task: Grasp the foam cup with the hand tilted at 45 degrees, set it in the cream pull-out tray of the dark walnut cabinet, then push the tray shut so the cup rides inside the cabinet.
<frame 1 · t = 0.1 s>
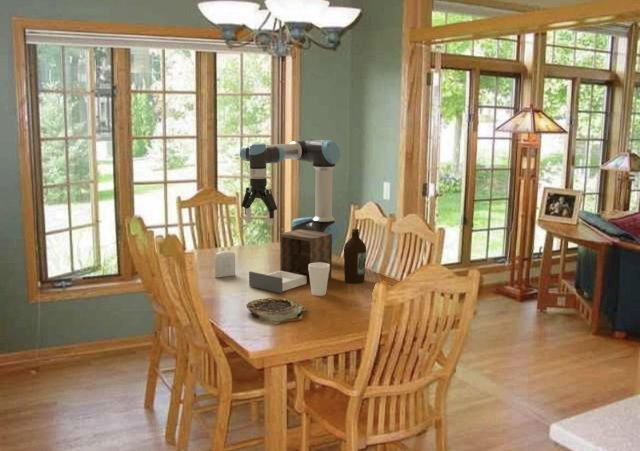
hand: (259, 223, 301), 28 cm above the table, tool pointing down, fingers open, 13 cm apart
tray: (279, 278, 301), point 4 cm above the table, slide at 15.5 cm
pie: (272, 315, 261), on the table
photo printer: (225, 276, 318), on the table
foam cup: (318, 294, 289), on the table
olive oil: (354, 281, 311), on the table
cabinet: (305, 277, 316), on the table
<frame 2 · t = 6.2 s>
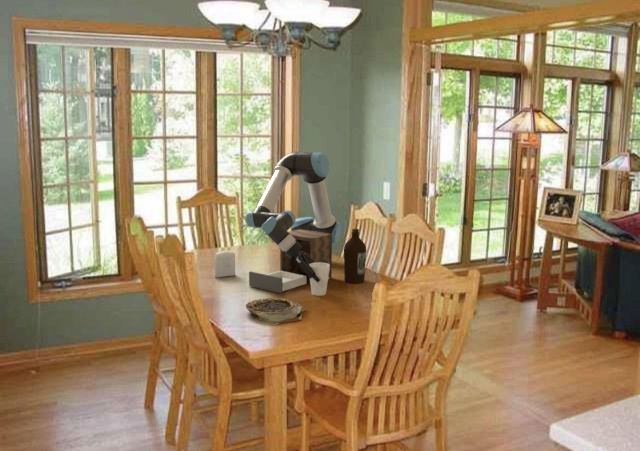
hand: (325, 283, 288), 5 cm above the table, tool tilted 45°, fingers closed on foam cup, 9 cm apart
foam cup: (318, 294, 289), on the table, touching gripper
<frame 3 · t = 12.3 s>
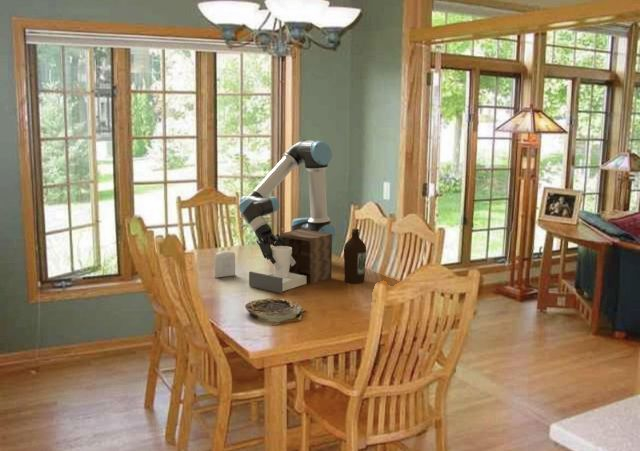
hand: (286, 266, 299), 9 cm above the table, tool tilted 45°, fingers closed on foam cup, 9 cm apart
foam cup: (281, 276, 302), point 4 cm above the table, touching gripper
when the fingers open (8 cm above the table, at t = 13.3 s): foam cup drops 1 cm, resting on tray.
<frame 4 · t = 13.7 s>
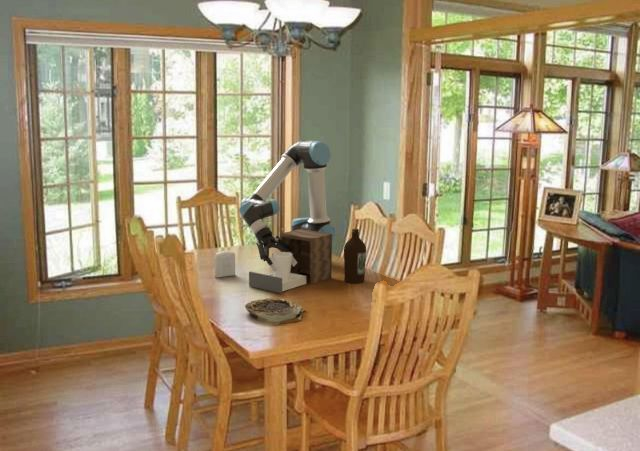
hand: (286, 267, 300), 9 cm above the table, tool tilted 45°, fingers open, 13 cm apart
tray: (279, 278, 301), point 4 cm above the table, slide at 15.6 cm, touching foam cup
foam cup: (282, 282, 303), point 1 cm above the table, touching tray
everything else where it was.
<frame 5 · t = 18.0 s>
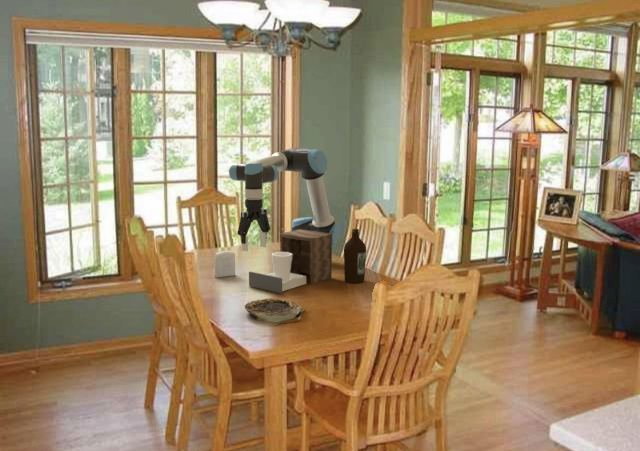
hand: (254, 248, 285), 20 cm above the table, tool pointing down, fingers open, 11 cm apart
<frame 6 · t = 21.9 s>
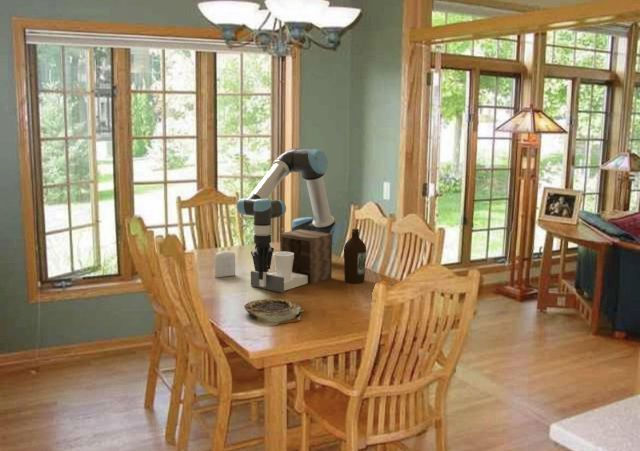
hand: (262, 286, 292), 2 cm above the table, tool pointing down, fingers closed
tray: (280, 277, 302), point 4 cm above the table, slide at 14.4 cm, touching foam cup, gripper
foam cup: (283, 281, 304), point 1 cm above the table, touching tray
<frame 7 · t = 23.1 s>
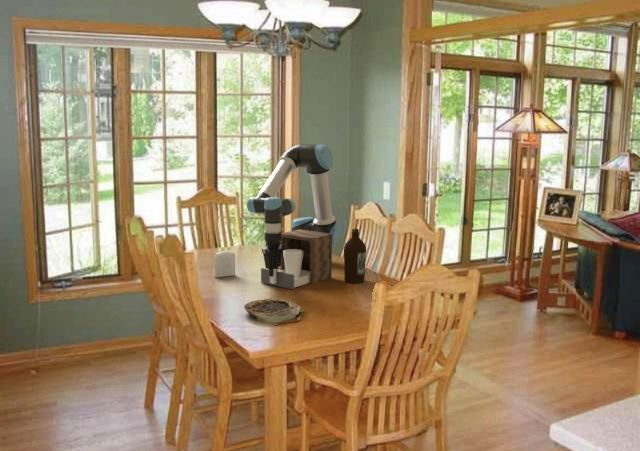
hand: (273, 282, 298), 2 cm above the table, tool pointing down, fingers closed
tray: (290, 274, 307), point 4 cm above the table, slide at 7.4 cm, touching foam cup, gripper
foam cup: (293, 278, 309), point 1 cm above the table, touching tray
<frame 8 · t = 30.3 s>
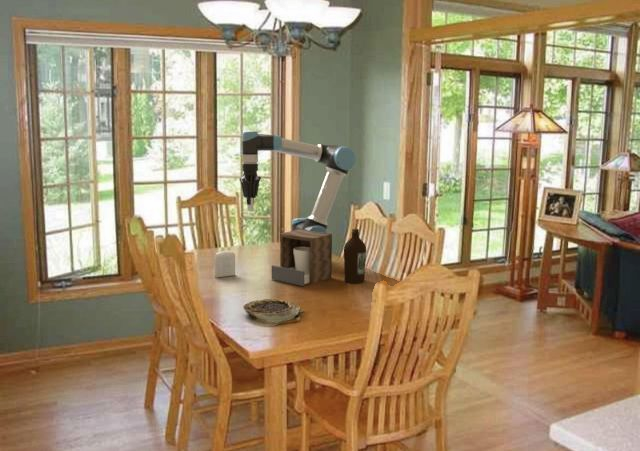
hand: (250, 211, 323), 30 cm above the table, tool pointing down, fingers closed
tray: (300, 271, 313), point 4 cm above the table, slide at 0.0 cm, touching foam cup
foam cup: (303, 275, 315), point 1 cm above the table, touching tray
at the end: tray slide at 0.0 cm; foam cup inside the target area on the cabinet (0.8 cm from its centre), point 1.3 cm above the cabinet's base; foam cup tilted 0° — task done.
